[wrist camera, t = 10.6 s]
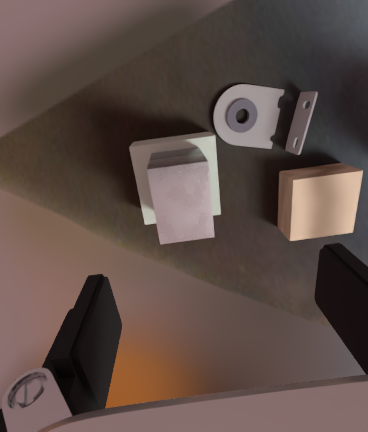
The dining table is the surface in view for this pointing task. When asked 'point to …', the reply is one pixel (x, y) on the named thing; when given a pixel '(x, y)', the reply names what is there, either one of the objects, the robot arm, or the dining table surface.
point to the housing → (181, 195)
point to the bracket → (260, 116)
